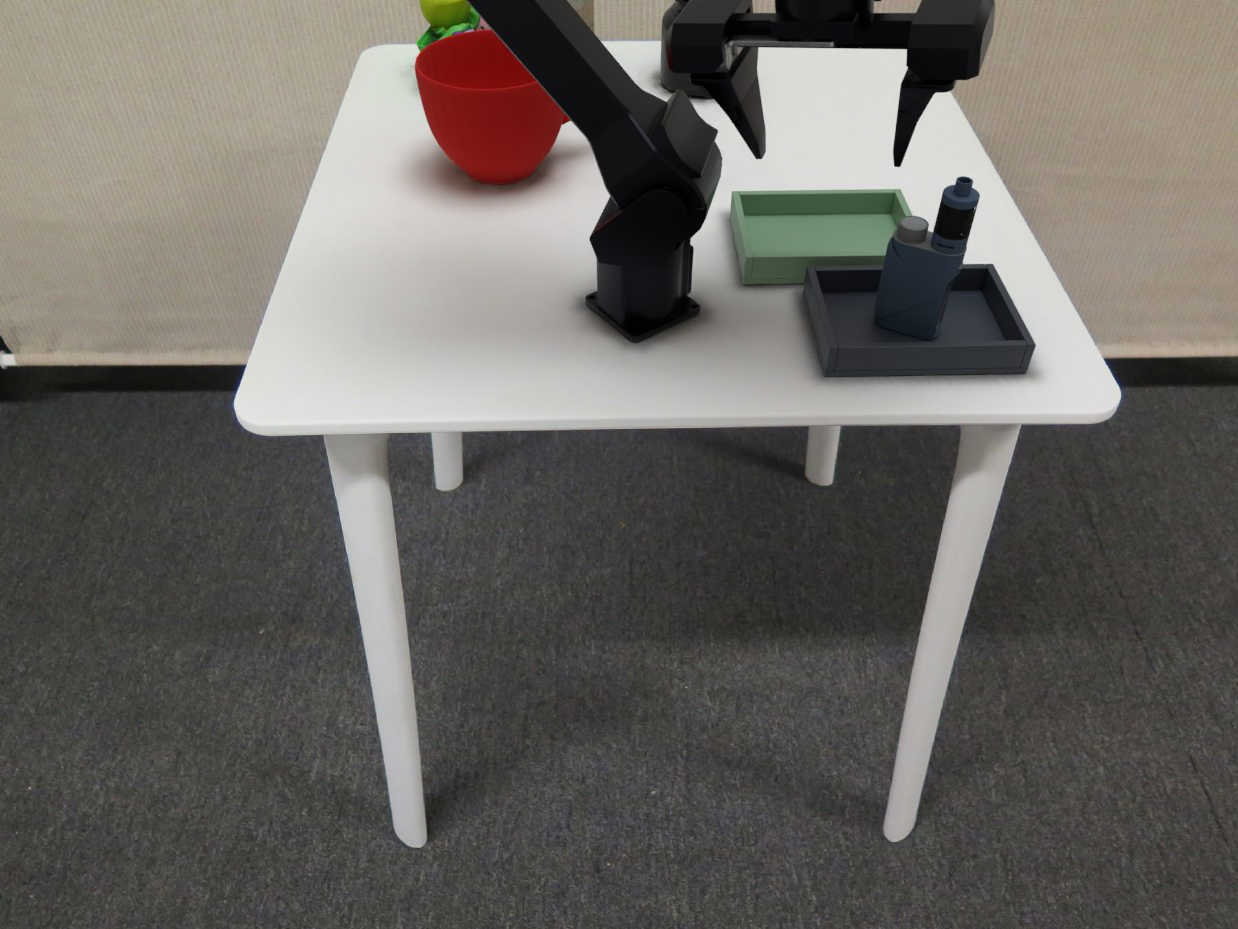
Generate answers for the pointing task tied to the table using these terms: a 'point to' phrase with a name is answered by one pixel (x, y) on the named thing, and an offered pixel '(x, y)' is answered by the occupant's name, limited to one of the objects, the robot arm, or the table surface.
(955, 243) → the vaping device
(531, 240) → the table surface
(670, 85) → the ink bottle
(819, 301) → the charcoal tray
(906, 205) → the sage tray
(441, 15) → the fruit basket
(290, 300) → the table surface
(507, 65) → the ceramic cup
